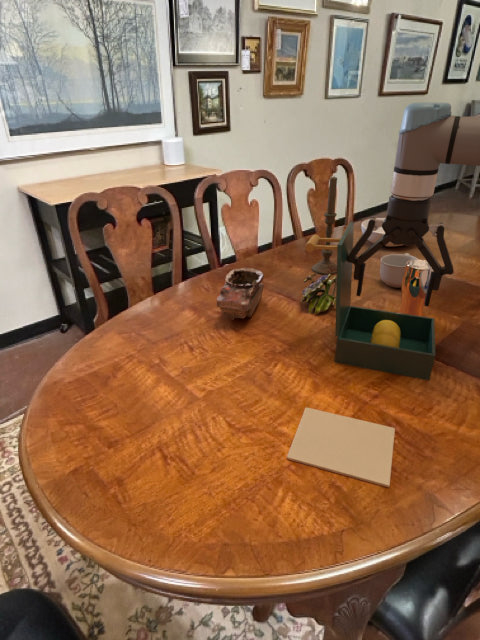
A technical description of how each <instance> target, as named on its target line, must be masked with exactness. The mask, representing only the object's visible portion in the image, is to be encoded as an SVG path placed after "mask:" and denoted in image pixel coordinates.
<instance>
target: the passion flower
mask: <svg viewBox="0 0 480 640" xmlns="http://www.w3.org/2000/svg"><path fill="white" fill-rule="evenodd" d="M316 275H317V273H316V272H313V273H311V274H310V275H308V276H307V277H306V278H305V279H304V280H303V283H306V282H308V281H311V283H310V284H309V285H307V287H306V288H305V289H303V290H301V296H302V299H301V301H300V302H301V303H304V302H306V303H309V305H308V313H310V314H311V315H313V312H314V314H315V315H318V314H319V313H321V312H322V313H324V312H326V311H327V310H328V309H329V308H330V306H331V305H332V307H333V308H335V305H336V296H335V294H336V283H337V275H334V276H333V278H331V277H332V274H329V275H321V276H320V277H319V278H317V279H316V280H314V279H312V278H313V277H315V276H316ZM330 278H331V279H330ZM333 284H334V287H333V290H332V291H333V292H332V294H329V292H330V290H331V285H333ZM319 293H321V294H319ZM331 303H332V304H331Z"/></svg>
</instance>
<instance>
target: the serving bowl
mask: <svg viewBox="0 0 480 640" xmlns="http://www.w3.org/2000/svg"><path fill="white" fill-rule="evenodd" d="M375 218H376V219H377V220H382V221H384V220H385V218H386V217H375ZM369 220H370V218H369V219H365V220H364V221H362V222H361V233H362V234H363V233H364V232H365V230H366V229H367V226H368V222H369ZM384 234H385V232H384V230H383V228H382V227H379V228H378V229H377V230H376V231H372V234H371V235H370V237H369V238H368V240H367V241H369V242H371V243H372V244H374V243H375V242H377V241H378V240H379V239H380V238H381V237H382V236H383V235H384ZM402 246H403V245H402V244H401V245H393V243H391V242H389V243H388V244H386V245H385V246H384V247H387V248H389V247H393V248H394V247H402Z"/></svg>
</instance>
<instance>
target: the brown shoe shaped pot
mask: <svg viewBox="0 0 480 640" xmlns="http://www.w3.org/2000/svg"><path fill="white" fill-rule="evenodd" d="M264 278H265V274H264V273H263V272H262V271H261V270H259V269H257V268H252V267H241V268H234V269H231V270H230V271H229V272H228V273H227V274H226V276H225V282H224V284H223V286H222V287H221V288H220V293H219V296H217V299H216V307H217V308H219V310H221V311H220V312H221V314H222V315H223V316H226V317H230V319H231V320H234V319H235V318H236V319H245V318H246V317H248V318H250V317H252V315H253V313H254V311H256V308H257V306H258V304H259V303H260V301H261V299H262V296H263V293H264V287H265V283H263V281H264Z"/></svg>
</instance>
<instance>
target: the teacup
mask: <svg viewBox="0 0 480 640" xmlns="http://www.w3.org/2000/svg"><path fill="white" fill-rule="evenodd" d="M416 259H417V260H420V258H417V257H416V256H413V255H411V253H410V252H409V253H408V252H405V253H404V254H403V253H391V254H386V255H383V256H382V257H380V267H379V273H380V274H379V277H380V279H381V281H382V282H383V283H385V285H386V286H388V287H391V288H399V289H402V278H403V274H404V270H405V267H406V262H407V261H409V260H416Z"/></svg>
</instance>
